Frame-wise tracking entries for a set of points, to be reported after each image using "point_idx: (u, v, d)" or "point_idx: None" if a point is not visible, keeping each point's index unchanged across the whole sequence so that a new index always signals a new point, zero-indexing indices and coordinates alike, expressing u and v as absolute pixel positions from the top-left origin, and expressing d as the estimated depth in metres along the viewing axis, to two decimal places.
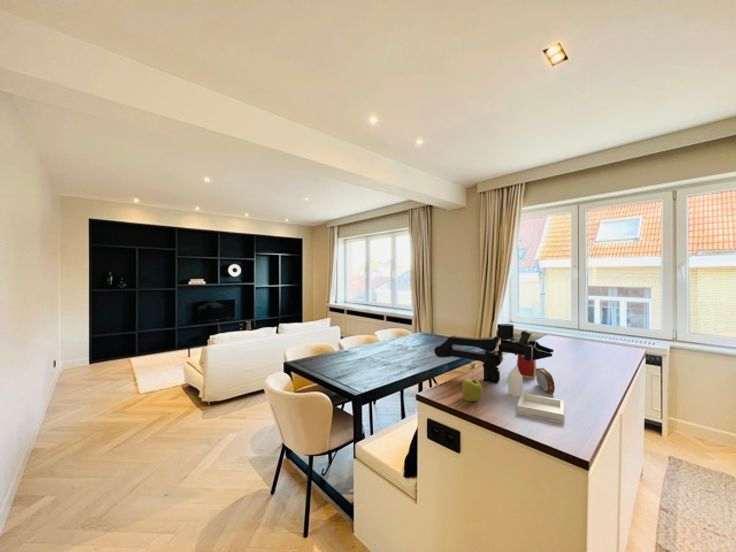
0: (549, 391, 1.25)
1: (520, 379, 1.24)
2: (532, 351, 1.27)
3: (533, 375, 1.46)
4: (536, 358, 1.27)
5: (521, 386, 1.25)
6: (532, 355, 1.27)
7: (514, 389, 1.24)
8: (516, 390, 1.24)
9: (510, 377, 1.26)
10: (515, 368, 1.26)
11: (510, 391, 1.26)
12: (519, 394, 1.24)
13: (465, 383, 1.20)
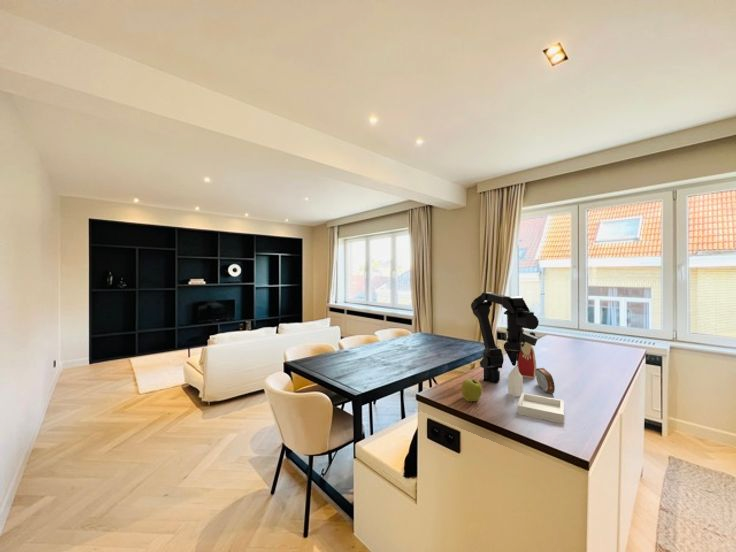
0: (549, 391, 1.25)
1: (520, 379, 1.24)
2: (515, 350, 1.20)
3: (533, 375, 1.46)
4: (507, 352, 1.23)
5: (521, 386, 1.25)
6: (510, 350, 1.21)
7: (514, 389, 1.24)
8: (516, 390, 1.24)
9: (510, 377, 1.26)
10: (515, 368, 1.26)
11: (510, 391, 1.26)
12: (519, 394, 1.24)
13: (465, 383, 1.20)
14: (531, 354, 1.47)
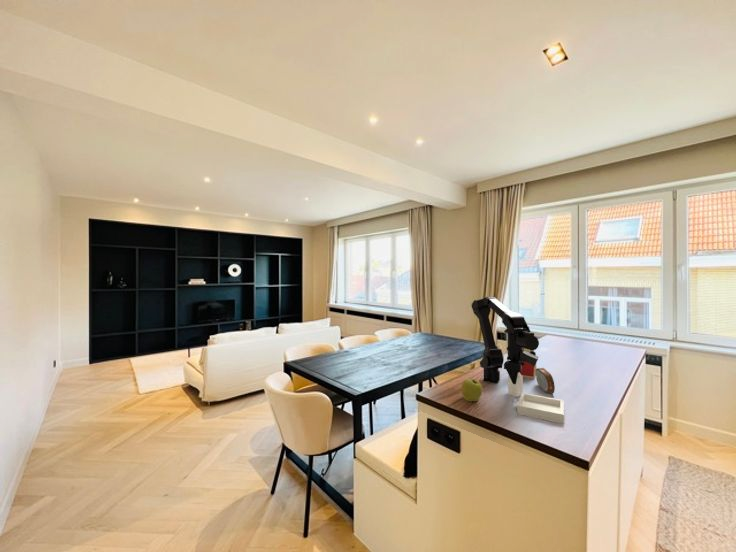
0: (549, 391, 1.25)
1: (520, 379, 1.24)
2: None
3: (533, 375, 1.46)
4: (508, 371, 1.24)
5: (521, 386, 1.25)
6: None
7: (514, 389, 1.24)
8: (516, 390, 1.24)
9: None
10: None
11: (510, 391, 1.26)
12: (519, 394, 1.24)
13: (465, 383, 1.20)
14: None
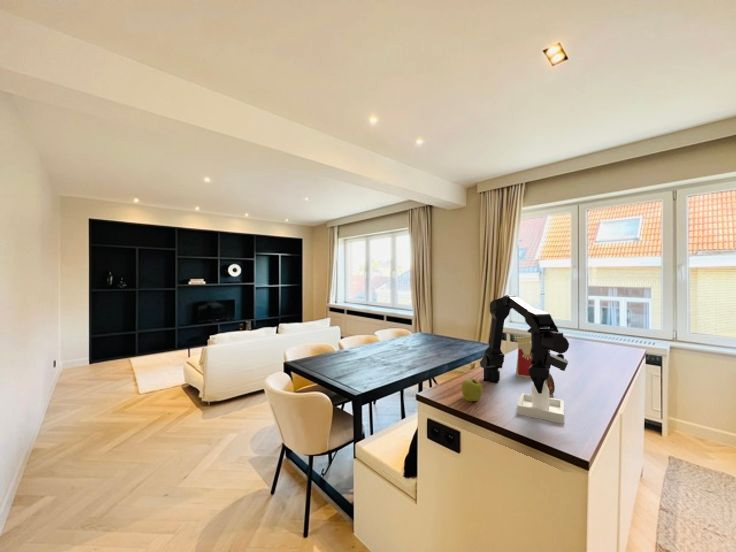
0: (549, 391, 1.25)
1: (546, 391, 1.08)
2: None
3: None
4: (532, 378, 1.06)
5: (547, 399, 1.08)
6: None
7: (540, 403, 1.08)
8: (542, 403, 1.08)
9: (534, 389, 1.10)
10: None
11: (535, 405, 1.10)
12: (545, 408, 1.08)
13: (465, 383, 1.20)
14: None
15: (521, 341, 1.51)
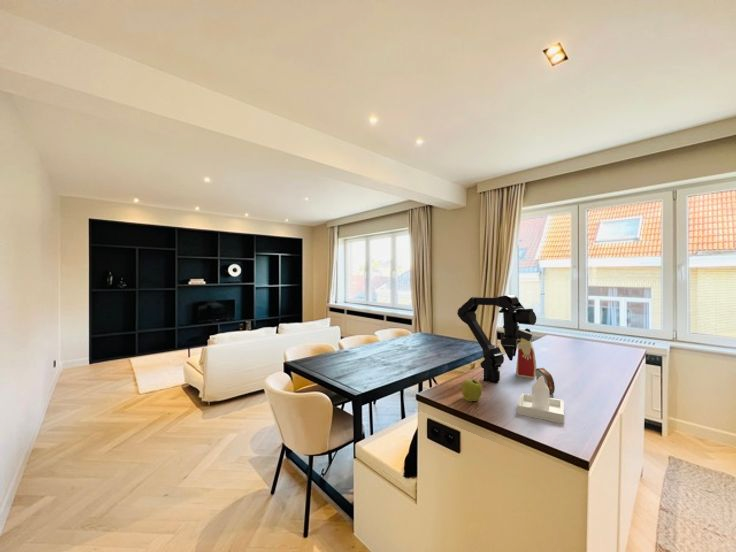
0: (549, 391, 1.25)
1: (546, 391, 1.08)
2: None
3: (533, 375, 1.46)
4: (504, 347, 1.30)
5: (548, 399, 1.08)
6: (507, 345, 1.28)
7: (540, 403, 1.08)
8: (542, 404, 1.08)
9: (535, 389, 1.10)
10: (540, 378, 1.10)
11: (535, 405, 1.10)
12: (545, 408, 1.08)
13: (465, 383, 1.20)
14: (531, 354, 1.47)
15: (521, 341, 1.51)
